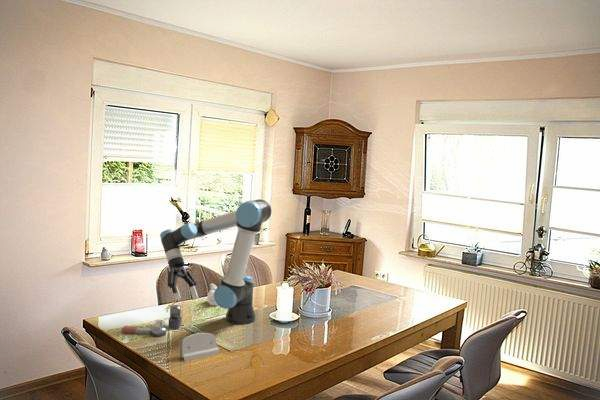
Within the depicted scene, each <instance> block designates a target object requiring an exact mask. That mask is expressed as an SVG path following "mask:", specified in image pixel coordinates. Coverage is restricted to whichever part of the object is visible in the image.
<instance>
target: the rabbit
mask: <svg viewBox="0 0 600 400" xmlns="http://www.w3.org/2000/svg"><path fill="white" fill-rule="evenodd" d="M209 286H210V290H209V291H208V293H207V297H206V298H207V302H208V304H209V305H211V306H217V307H219V305H218V304H217V303H216V301H215V299H214V291H215V290H216V288H217V287H218V286H217V285H216V284H214V283H209Z"/></svg>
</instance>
